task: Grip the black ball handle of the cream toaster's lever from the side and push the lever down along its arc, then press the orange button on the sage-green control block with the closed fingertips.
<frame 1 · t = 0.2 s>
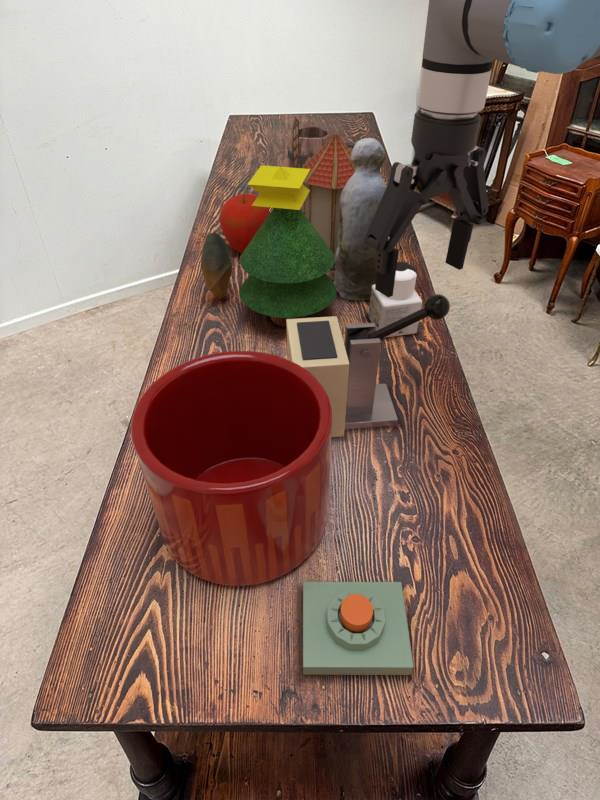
hand: (420, 278, 75), 24 cm above the table, tool pointing down, fingers open, 13 cm apart
container: (391, 326, 109), on the table
miniature windmill: (323, 251, 132), on the table
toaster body: (315, 377, 85), on the table
planter: (245, 514, 76), on the table
control block: (353, 630, 63), on the table
apple: (247, 251, 132), on the table
metal lever stand: (356, 409, 91), on the table
sculpture: (358, 288, 119), on the table
cancel button: (356, 612, 60), point 4 cm above the table, slide at 0.1 cm
decorative stone: (221, 299, 116), on the table
tankard: (321, 210, 149), on the table
decorative tree: (288, 317, 111), on the table
toaster lever: (400, 324, 80), point 17 cm above the table, hinge at 28.0°
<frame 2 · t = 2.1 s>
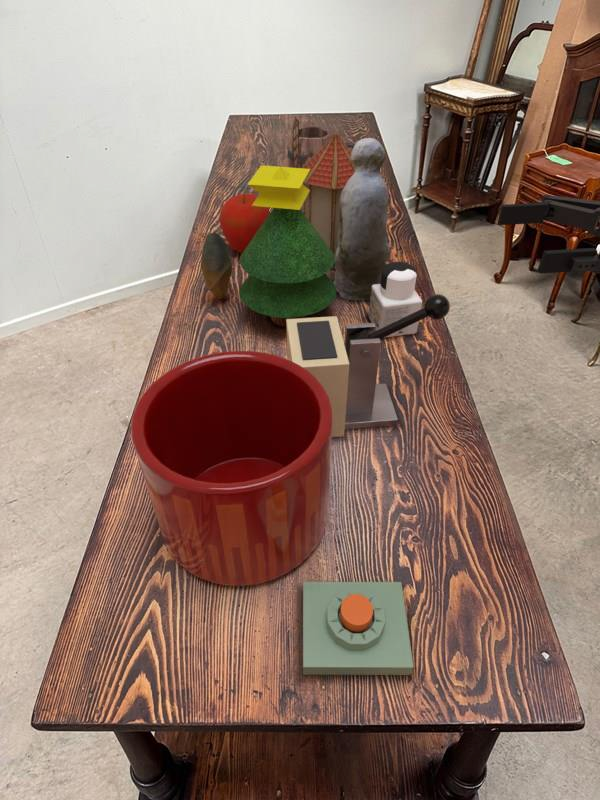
hand: (519, 237, 72), 30 cm above the table, tool horizontal, fingers open, 13 cm apart
nothing on the table moved.
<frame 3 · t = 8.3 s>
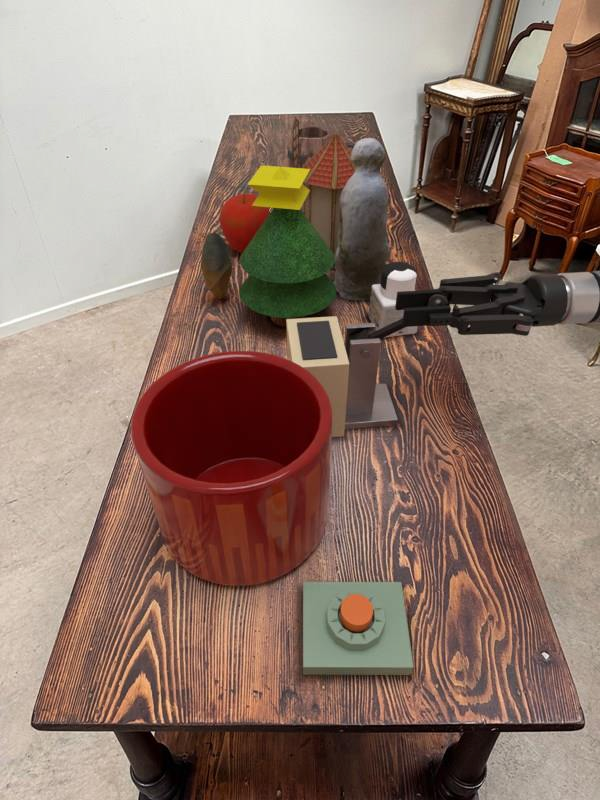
hand: (400, 309, 78), 20 cm above the table, tool horizontal, fingers closed on toaster lever, 4 cm apart
toaster lever: (400, 324, 80), point 17 cm above the table, hinge at 28.0°, touching gripper
everything else where it was.
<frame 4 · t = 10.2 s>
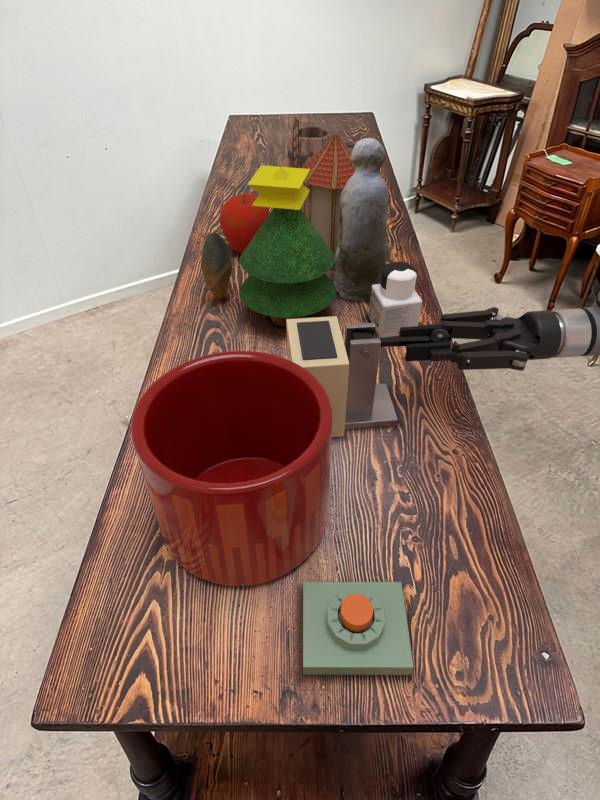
hand: (403, 344, 82), 13 cm above the table, tool horizontal, fingers closed on toaster lever, 4 cm apart
toaster lever: (402, 341, 82), point 14 cm above the table, hinge at -2.6°, touching gripper
everything else where it was.
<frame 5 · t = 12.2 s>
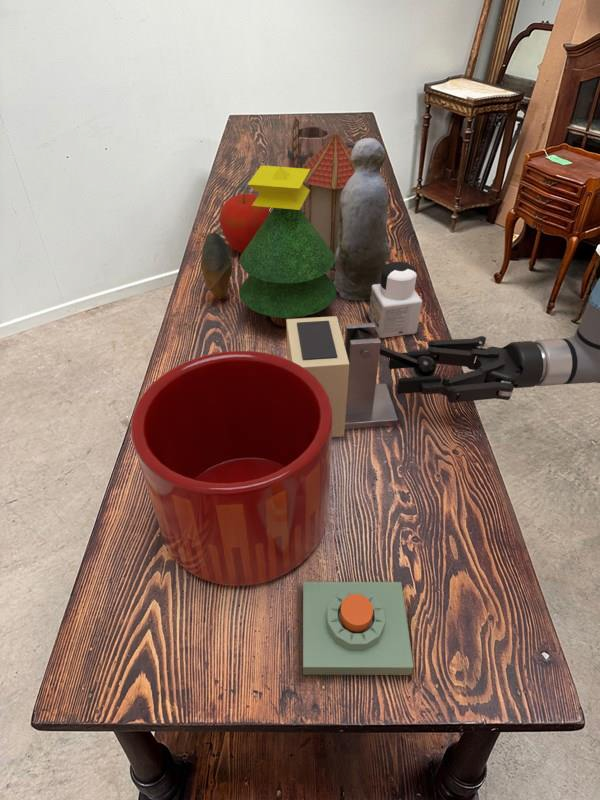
hand: (394, 373, 86), 7 cm above the table, tool horizontal, fingers open, 5 cm apart
toaster lever: (395, 355, 84), point 11 cm above the table, hinge at -28.6°
everything else where it was.
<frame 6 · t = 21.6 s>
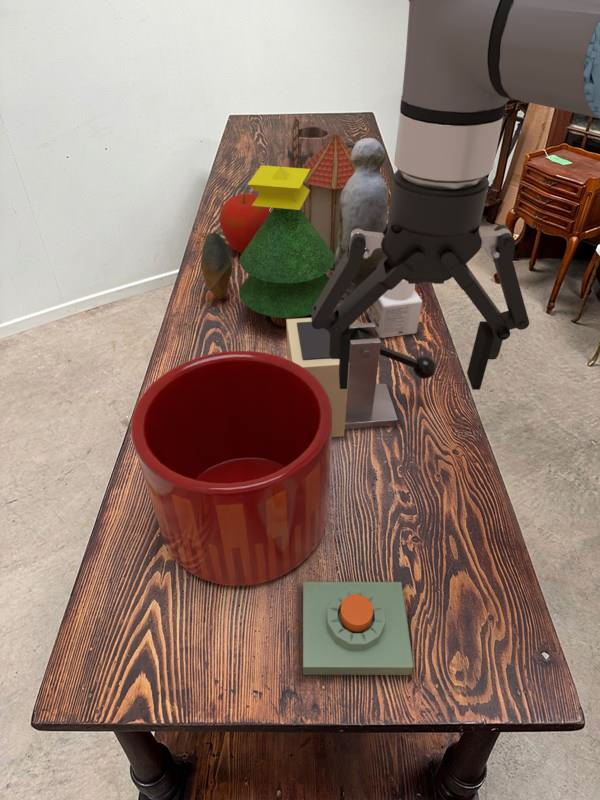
hand: (407, 381, 56), 26 cm above the table, tool pointing down, fingers open, 13 cm apart
nothing on the table moved.
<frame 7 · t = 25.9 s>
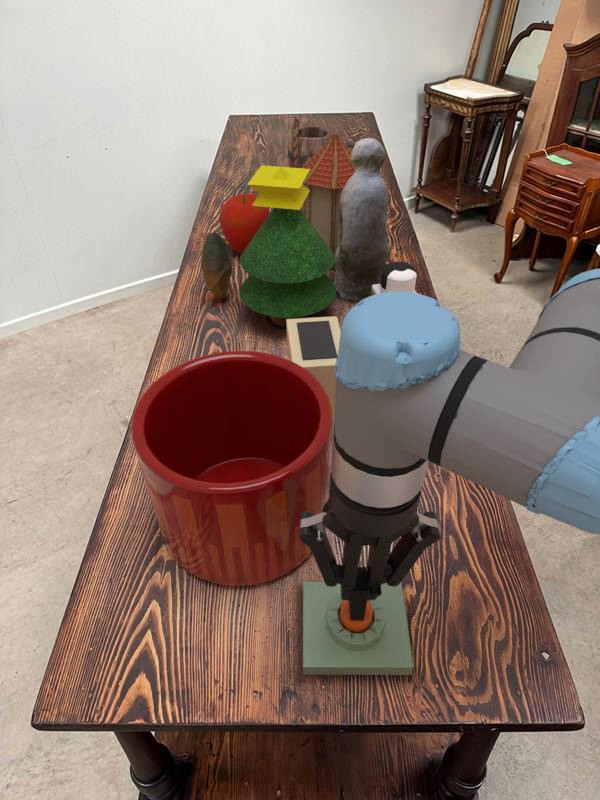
hand: (356, 608, 60), 5 cm above the table, tool pointing down, fingers closed
cancel button: (356, 613, 60), point 4 cm above the table, slide at -0.1 cm, touching gripper
everything else where it was.
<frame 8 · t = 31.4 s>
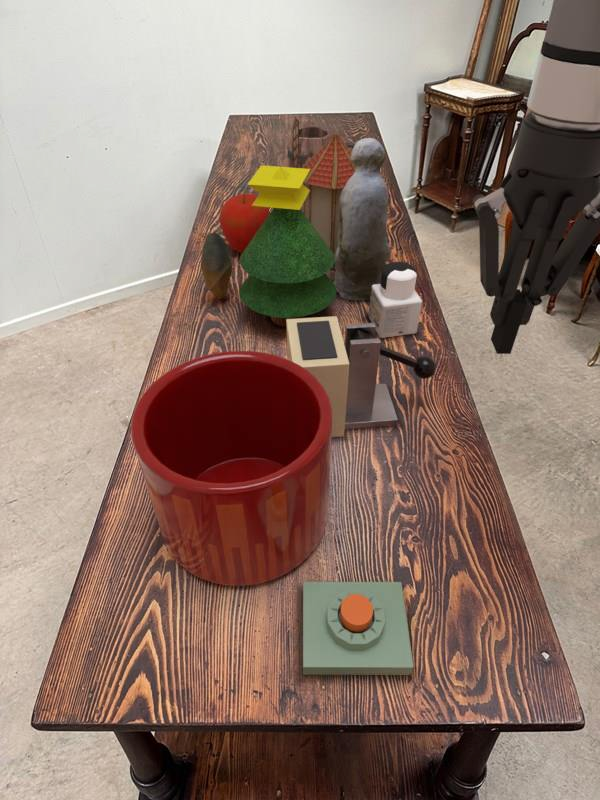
hand: (500, 346, 60), 26 cm above the table, tool pointing down, fingers closed
cancel button: (356, 612, 60), point 4 cm above the table, slide at 0.1 cm
everything else where it was.
at the end: toaster lever at -29° (first picture: +28°); cancel button pushed in 1.0 cm at the most during the clip, back to where it started at the end; cancel button slide at 0.1 cm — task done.
